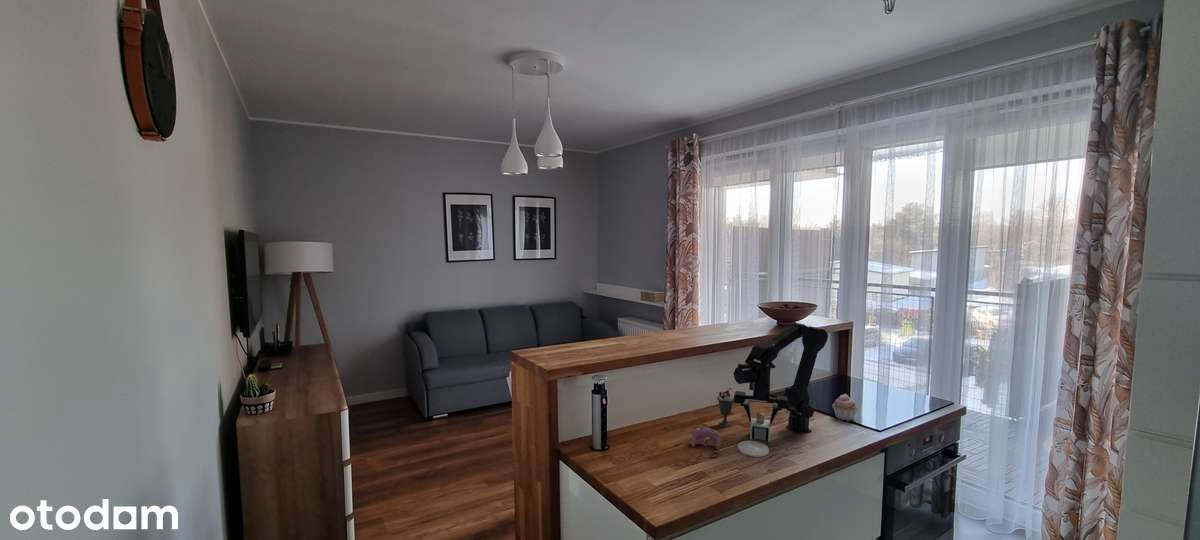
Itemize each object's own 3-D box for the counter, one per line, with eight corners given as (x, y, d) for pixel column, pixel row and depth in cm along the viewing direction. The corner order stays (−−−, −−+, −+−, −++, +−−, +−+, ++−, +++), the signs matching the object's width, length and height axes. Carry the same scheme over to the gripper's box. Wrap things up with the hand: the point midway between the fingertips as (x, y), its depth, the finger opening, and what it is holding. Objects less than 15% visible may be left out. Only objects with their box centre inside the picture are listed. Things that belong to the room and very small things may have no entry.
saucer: (758, 442, 166) (758, 439, 166) (774, 455, 156) (775, 452, 156) (732, 445, 164) (732, 442, 164) (747, 458, 154) (747, 455, 154)
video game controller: (720, 451, 163) (721, 430, 165) (719, 450, 159) (721, 428, 161) (691, 447, 166) (693, 426, 168) (690, 446, 162) (691, 425, 164)
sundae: (734, 428, 178) (735, 389, 177) (716, 427, 179) (717, 388, 178) (733, 422, 184) (734, 384, 183) (715, 420, 186) (716, 383, 185)
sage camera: (769, 434, 173) (770, 412, 172) (769, 442, 166) (770, 418, 166) (750, 432, 175) (751, 409, 174) (750, 439, 169) (750, 416, 168)
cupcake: (862, 419, 187) (863, 395, 187) (850, 424, 182) (851, 399, 181) (839, 412, 195) (840, 388, 194) (826, 417, 190) (827, 392, 189)
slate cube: (765, 435, 172) (766, 425, 172) (765, 440, 168) (766, 429, 168) (754, 434, 173) (754, 423, 173) (754, 438, 169) (754, 427, 169)
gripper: (788, 377, 174) (787, 418, 175) (736, 371, 180) (735, 411, 181) (790, 385, 163) (788, 429, 164) (734, 380, 169) (733, 422, 170)
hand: (760, 422), depth 170 cm, fingers closed on sage camera, 7 cm apart
